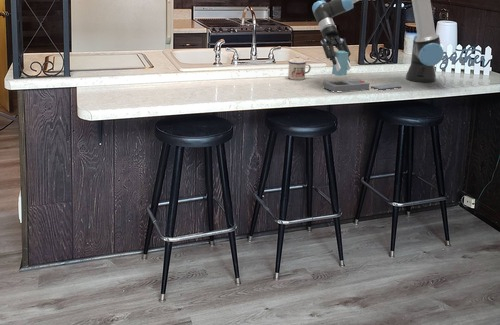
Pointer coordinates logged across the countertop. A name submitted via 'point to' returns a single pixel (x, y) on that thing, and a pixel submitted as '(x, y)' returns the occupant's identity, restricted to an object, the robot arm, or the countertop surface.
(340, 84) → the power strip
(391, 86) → the phone
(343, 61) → the brick
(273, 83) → the countertop surface
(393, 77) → the countertop surface
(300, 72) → the teacup with lid
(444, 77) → the countertop surface
